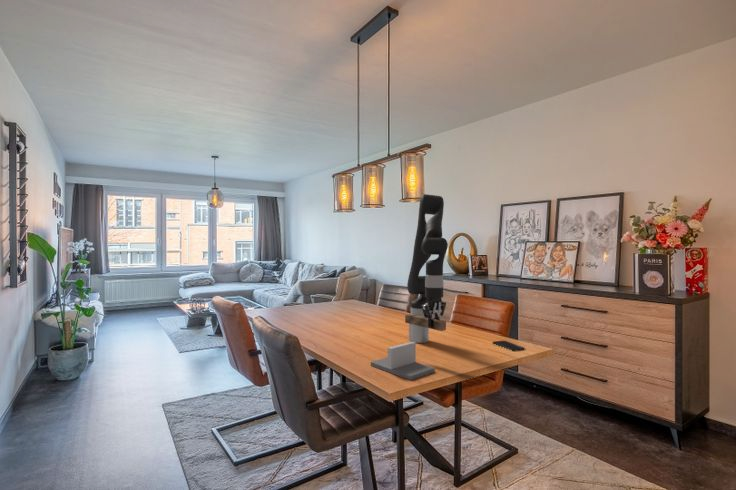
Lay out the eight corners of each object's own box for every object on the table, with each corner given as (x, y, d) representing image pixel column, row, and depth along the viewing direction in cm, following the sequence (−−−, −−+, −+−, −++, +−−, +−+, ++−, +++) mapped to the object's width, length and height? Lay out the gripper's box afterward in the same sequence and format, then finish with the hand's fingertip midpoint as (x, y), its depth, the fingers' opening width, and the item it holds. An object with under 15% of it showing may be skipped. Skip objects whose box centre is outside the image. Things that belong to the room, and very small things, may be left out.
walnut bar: (405, 322, 172) (405, 314, 172) (409, 321, 174) (409, 313, 174) (441, 331, 157) (441, 322, 157) (445, 330, 159) (446, 321, 159)
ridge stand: (370, 365, 160) (370, 342, 160) (394, 358, 169) (394, 337, 169) (410, 380, 144) (410, 354, 143) (434, 371, 153) (434, 347, 153)
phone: (504, 340, 198) (525, 348, 184) (504, 342, 198) (525, 350, 184) (491, 341, 195) (512, 349, 181) (491, 344, 195) (512, 352, 181)
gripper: (437, 283, 169) (437, 323, 169) (416, 286, 160) (415, 328, 160) (452, 285, 163) (451, 326, 164) (430, 288, 154) (429, 331, 154)
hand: (433, 327), depth 162 cm, fingers closed on walnut bar, 3 cm apart
